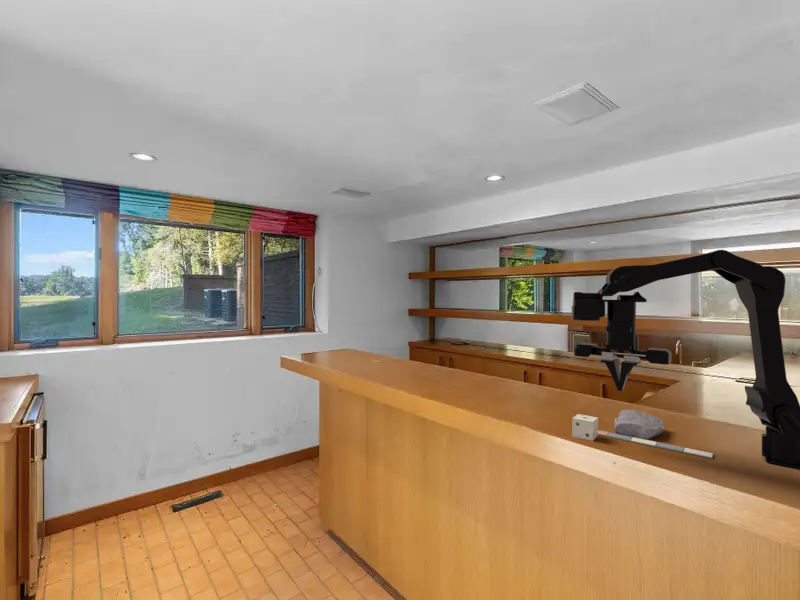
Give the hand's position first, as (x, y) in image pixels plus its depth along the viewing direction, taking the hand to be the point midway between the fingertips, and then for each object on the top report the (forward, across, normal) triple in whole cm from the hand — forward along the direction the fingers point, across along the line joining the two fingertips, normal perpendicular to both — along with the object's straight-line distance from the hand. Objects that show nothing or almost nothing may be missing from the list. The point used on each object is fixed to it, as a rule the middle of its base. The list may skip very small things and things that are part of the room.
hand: (620, 390), depth 90 cm
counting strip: (+12, -4, -4) cm, 13 cm away
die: (+12, +7, 0) cm, 14 cm away
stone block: (+12, -2, -13) cm, 18 cm away
